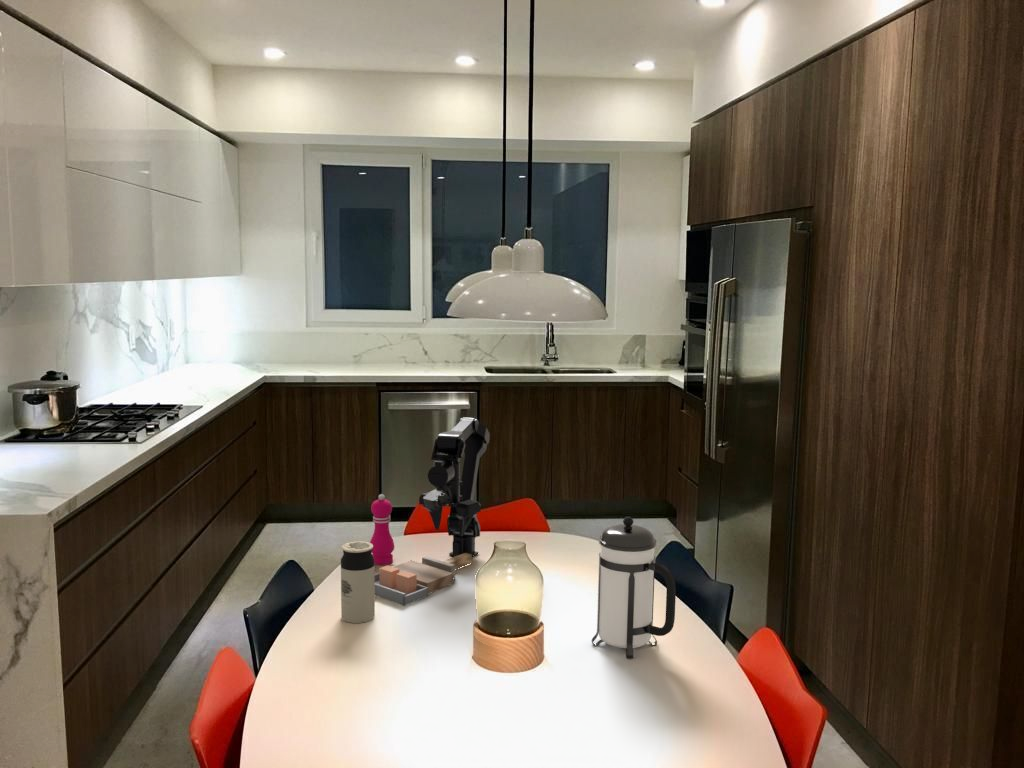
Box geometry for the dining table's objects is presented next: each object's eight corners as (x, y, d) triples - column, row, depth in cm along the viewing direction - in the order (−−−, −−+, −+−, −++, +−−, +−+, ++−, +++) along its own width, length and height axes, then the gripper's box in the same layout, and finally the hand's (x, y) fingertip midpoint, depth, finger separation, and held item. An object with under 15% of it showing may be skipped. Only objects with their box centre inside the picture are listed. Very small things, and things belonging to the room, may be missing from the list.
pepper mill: (366, 559, 254) (365, 492, 252) (390, 556, 257) (390, 490, 255) (373, 566, 248) (372, 498, 245) (397, 563, 251) (397, 496, 248)
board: (411, 570, 245) (411, 560, 245) (453, 583, 235) (453, 573, 235) (385, 580, 237) (385, 569, 237) (427, 594, 227) (427, 583, 227)
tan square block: (387, 565, 234) (379, 568, 232) (399, 569, 231) (391, 572, 229) (387, 581, 235) (379, 584, 232) (399, 585, 232) (391, 588, 230)
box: (381, 579, 238) (381, 569, 237) (428, 595, 226) (428, 584, 226) (356, 588, 231) (355, 577, 230) (403, 605, 219) (403, 594, 219)
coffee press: (593, 660, 190) (597, 527, 186) (589, 630, 206) (592, 507, 202) (673, 662, 189) (678, 529, 186) (663, 632, 205) (667, 508, 201)
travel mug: (366, 608, 217) (366, 538, 215) (380, 619, 210) (379, 547, 208) (336, 615, 213) (335, 544, 210) (348, 626, 206) (348, 553, 204)
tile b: (404, 570, 230) (396, 573, 228) (416, 574, 227) (408, 577, 225) (404, 587, 231) (396, 590, 228) (416, 591, 228) (408, 594, 225)
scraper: (454, 559, 255) (454, 546, 255) (483, 567, 249) (483, 554, 248) (422, 571, 245) (422, 557, 244) (450, 580, 238) (450, 566, 238)
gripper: (405, 478, 242) (405, 532, 244) (454, 489, 230) (454, 546, 232) (432, 471, 250) (432, 524, 252) (482, 481, 239) (481, 537, 241)
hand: (449, 532), depth 244 cm, fingers open, 9 cm apart
